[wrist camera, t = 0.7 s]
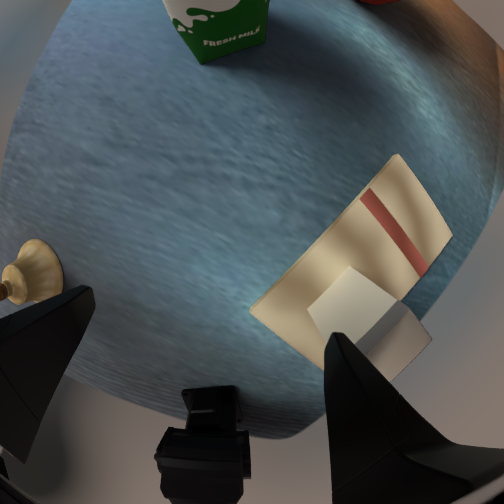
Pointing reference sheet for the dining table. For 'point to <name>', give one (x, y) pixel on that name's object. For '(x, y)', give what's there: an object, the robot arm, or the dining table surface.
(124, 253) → the dining table surface
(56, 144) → the dining table surface
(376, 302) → the white slab
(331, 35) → the dining table surface
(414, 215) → the board
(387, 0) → the apple
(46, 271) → the hand bell
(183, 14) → the milk carton
